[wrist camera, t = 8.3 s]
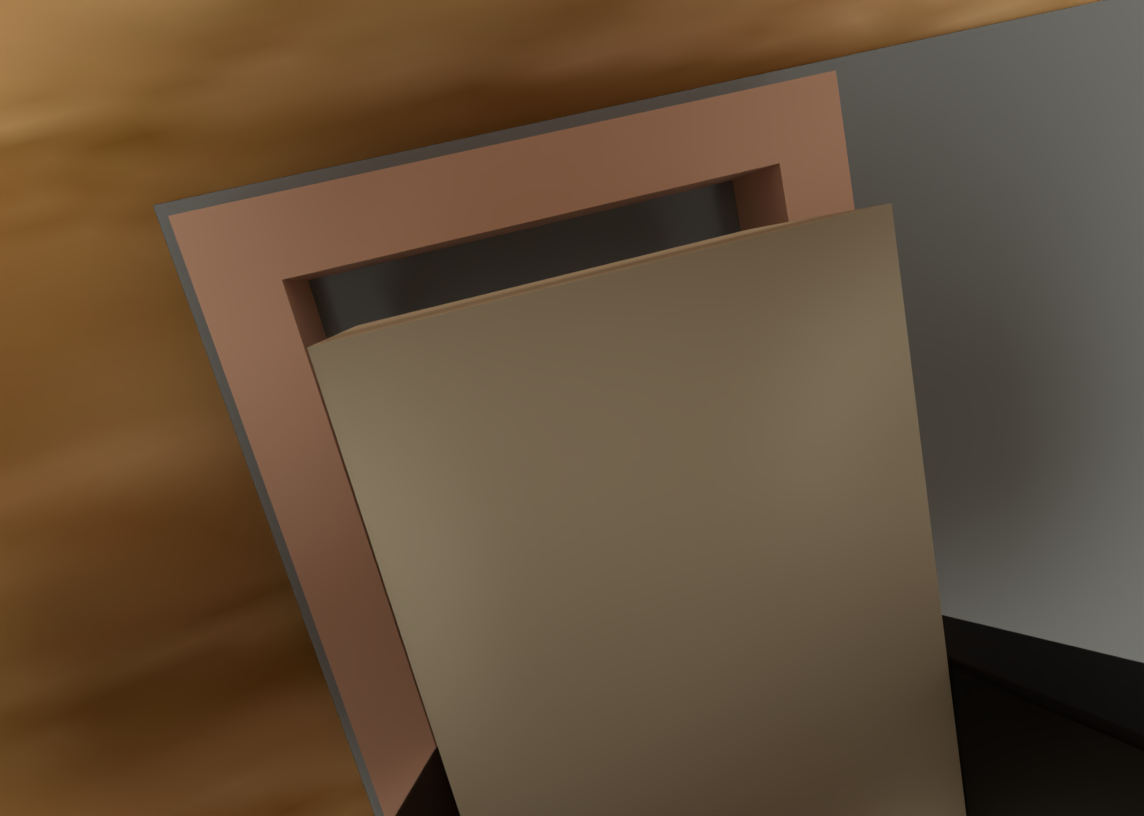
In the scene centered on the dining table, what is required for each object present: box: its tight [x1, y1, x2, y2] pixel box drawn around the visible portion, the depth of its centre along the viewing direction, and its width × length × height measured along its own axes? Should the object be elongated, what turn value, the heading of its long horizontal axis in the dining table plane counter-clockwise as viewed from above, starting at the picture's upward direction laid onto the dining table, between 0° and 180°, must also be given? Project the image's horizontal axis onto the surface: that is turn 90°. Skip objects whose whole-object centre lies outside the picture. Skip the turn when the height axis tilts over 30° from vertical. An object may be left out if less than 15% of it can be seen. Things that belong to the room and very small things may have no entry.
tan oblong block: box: [307, 203, 966, 816], centre depth 7 cm, size 10×5×3 cm, turn 13°
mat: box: [153, 0, 1144, 816], centre depth 12 cm, size 18×22×1 cm
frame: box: [168, 70, 855, 816], centre depth 10 cm, size 13×8×1 cm, turn 14°
